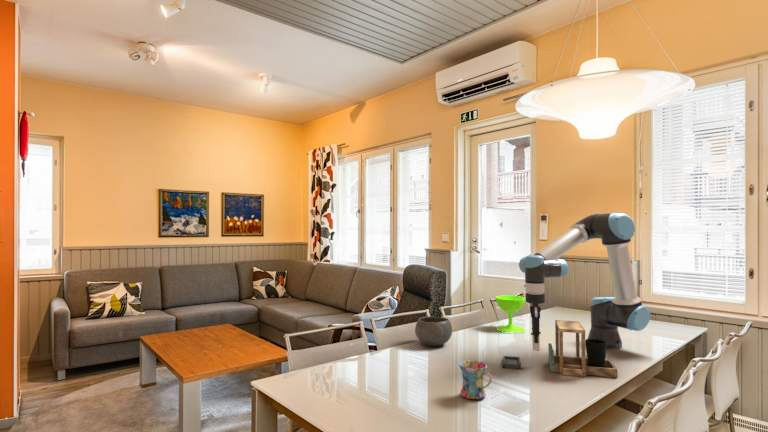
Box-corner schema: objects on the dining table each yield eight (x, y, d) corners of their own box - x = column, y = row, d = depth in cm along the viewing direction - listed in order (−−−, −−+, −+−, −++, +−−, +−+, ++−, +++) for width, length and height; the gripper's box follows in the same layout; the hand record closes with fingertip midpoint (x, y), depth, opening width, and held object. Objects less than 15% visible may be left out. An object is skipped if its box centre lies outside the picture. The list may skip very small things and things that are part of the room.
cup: (606, 370, 172) (606, 339, 172) (608, 376, 165) (607, 344, 165) (585, 367, 175) (584, 338, 175) (586, 373, 168) (585, 342, 168)
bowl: (410, 347, 204) (410, 320, 204) (421, 338, 220) (421, 313, 221) (447, 351, 197) (447, 324, 197) (455, 342, 214) (455, 316, 214)
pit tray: (520, 360, 184) (520, 357, 184) (520, 369, 172) (520, 365, 172) (503, 359, 186) (503, 355, 186) (502, 367, 174) (502, 364, 174)
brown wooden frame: (579, 364, 179) (578, 321, 180) (585, 377, 164) (585, 330, 164) (555, 362, 182) (555, 320, 182) (559, 374, 166) (559, 328, 167)
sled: (610, 367, 174) (610, 347, 174) (617, 377, 162) (617, 356, 163) (548, 362, 181) (548, 343, 181) (551, 371, 169) (551, 351, 169)
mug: (453, 395, 146) (453, 364, 146) (470, 388, 152) (470, 358, 152) (482, 406, 136) (482, 373, 137) (499, 399, 142) (499, 367, 143)
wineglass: (494, 326, 248) (494, 295, 248) (522, 327, 245) (522, 295, 246) (497, 333, 232) (497, 299, 232) (528, 334, 230) (527, 300, 230)
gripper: (524, 290, 185) (525, 345, 184) (525, 295, 172) (527, 354, 172) (543, 290, 182) (544, 346, 182) (545, 295, 170) (547, 355, 169)
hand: (536, 350), depth 177 cm, fingers closed
